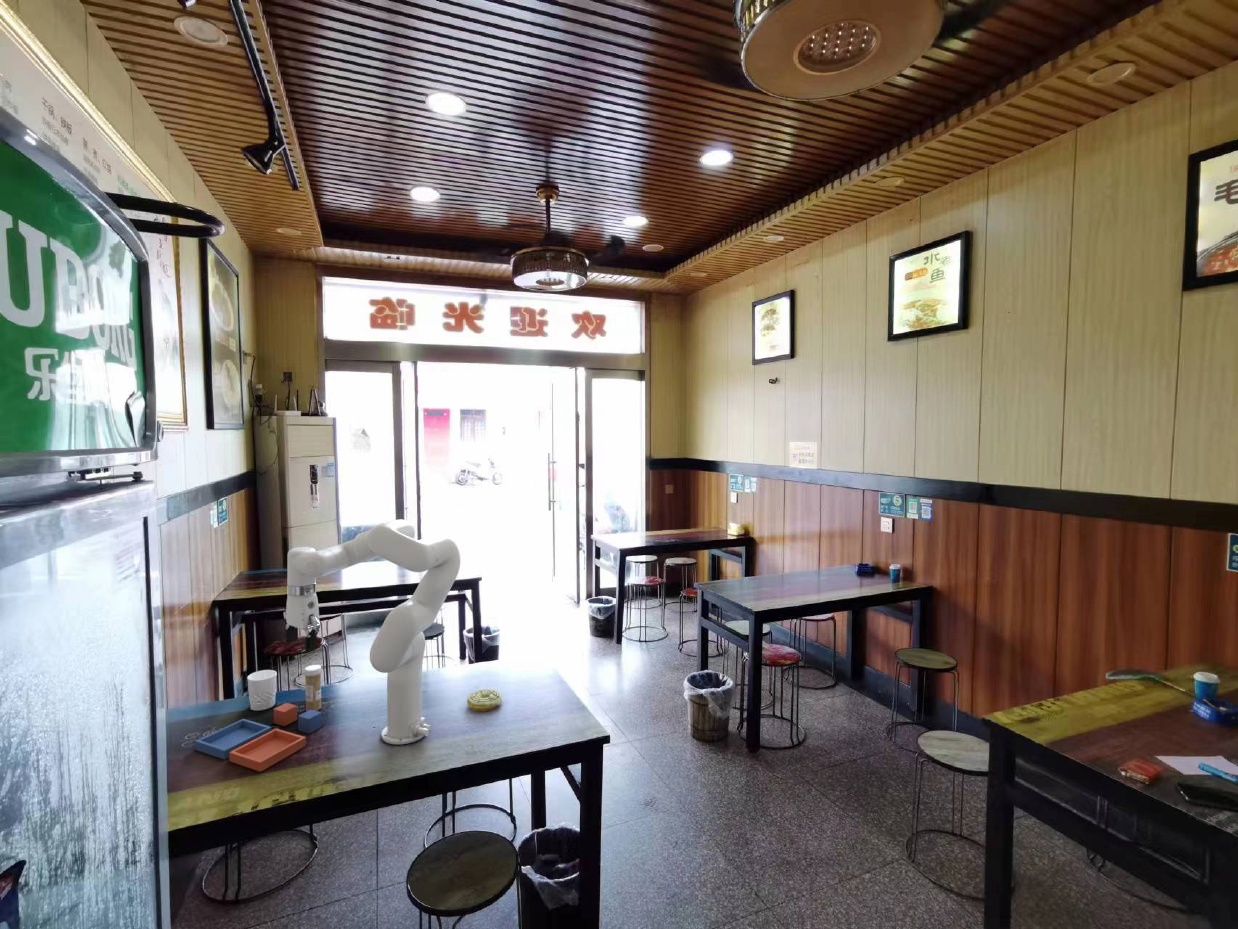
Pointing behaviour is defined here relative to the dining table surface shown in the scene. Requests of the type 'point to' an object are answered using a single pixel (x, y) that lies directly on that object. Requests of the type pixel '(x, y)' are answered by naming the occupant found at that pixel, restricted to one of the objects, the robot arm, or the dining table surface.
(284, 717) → the terracotta block
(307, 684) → the sprinkles bottle
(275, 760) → the terracotta tray
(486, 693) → the decorated donut
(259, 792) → the dining table surface
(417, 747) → the dining table surface
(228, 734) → the slate-blue tray
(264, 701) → the white cup
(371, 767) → the dining table surface
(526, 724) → the dining table surface
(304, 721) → the slate-blue block
